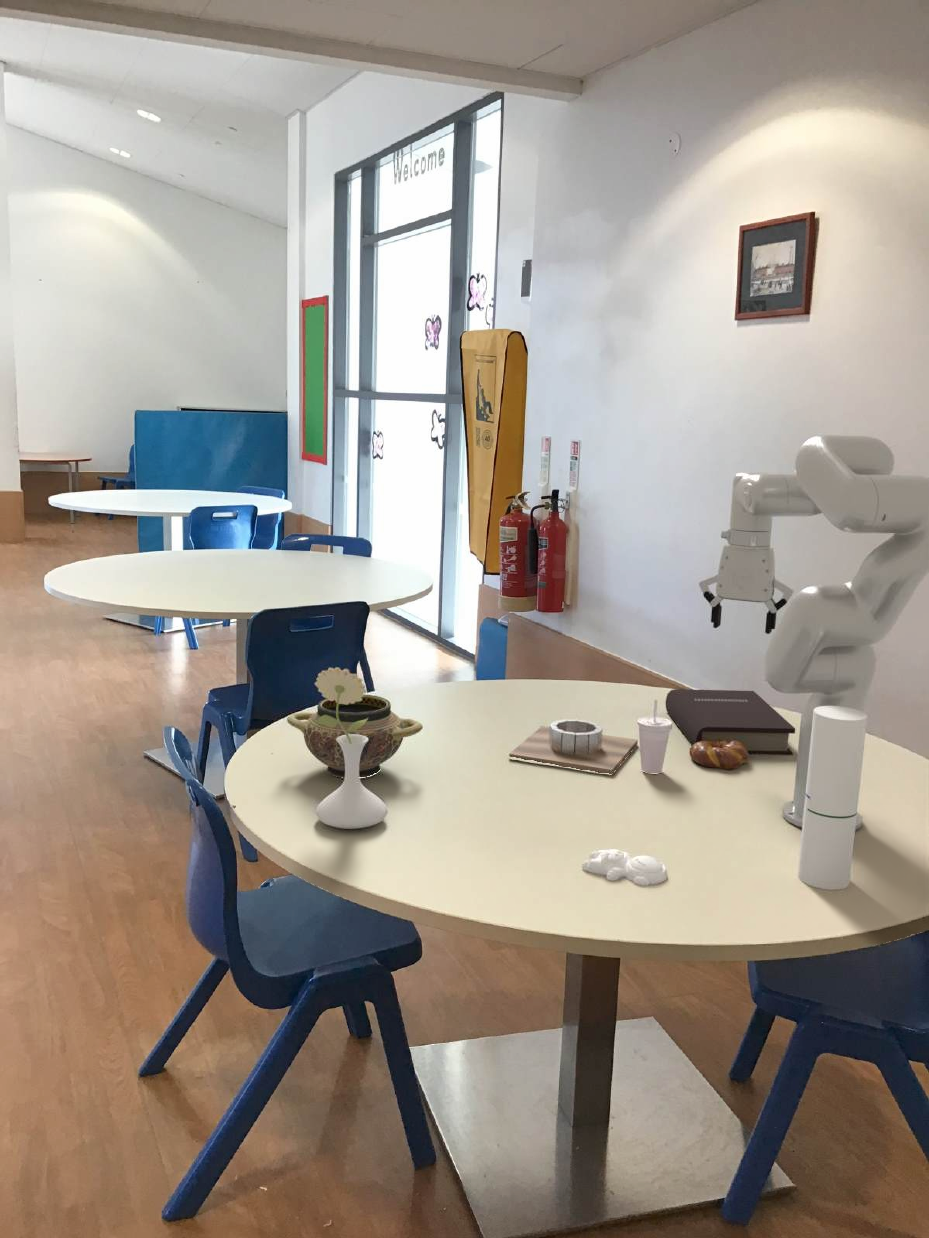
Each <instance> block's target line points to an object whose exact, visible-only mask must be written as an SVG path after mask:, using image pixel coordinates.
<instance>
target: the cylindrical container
mask: <svg viewBox="0 0 929 1238" xmlns="http://www.w3.org/2000/svg"><path fill="white" fill-rule="evenodd" d="M867 722H868V714H867V713H866V712H865V711H864V712H862V711H859V710H856V709H852V708H847V707H841V706H820V707H816V708H815V709H814V712H813V722H812V733H811V743H810V753H809V764H808V774H807V784H806V794H805V805H804V815H803V826H802V827H801V836H800V837H801V838H800V845H799V846H800V847H799V848H800V849H799V859H798V866H797V868H798V869H797V878H798V880H800V881H801V882H803V883H804V884H806V885H808V886H811V887H814V888H817V889H821V890H826V891H827V890H828V891H829V890H831V891H832V890H833V891H834V890H842V889H846V888H848V887H849V886H850V882H851V881H850V880H851V873H852V872H851V871H852V864H853V863H852V862H853V854H854V853H853V852H854V843H855V834H856V831H855V826H856V816H857V812H858V805H859V797H860V787H861V778H862V769H863V760H864V752H865V751H864V750H865V742H866V741H865V740H866V732H867V731H866V730H867Z"/></svg>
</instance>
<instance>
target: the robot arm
mask: <svg viewBox="0 0 929 1238" xmlns="http://www.w3.org/2000/svg"><path fill="white" fill-rule="evenodd" d="M894 468H895V458H894V454H893V452H892V449H891V448H890V447H889V446H888V445H887V444H886V443H885V442H884V441H882V440H880V439H878V438H876V437H872V436H869V435H868V436H866V435H839V434H838V435H837V434H836V435H835V434H834V435H833V434H830V435H829V434H827V435H825V434H823V435H822V434H820V435H816V436H813V437H811V438H809V439H807V440H806V441H805V442H804V443H803V444H802V445H801V447H800V448H799V449H798V452H797V453H796V455H795V459H794V473H768V472H760V471H742V472H738V473H736V474H735V476H734V477H733V480H732V493H731V504H730V516H729V517H730V518H729V529H728V530H723V531H721V533H720V538H721V539H724V540H726V541H727V543H728V544H725V545H723V547H722V550H721V554H720V560H719V565H718V572H717V574H716V575H713V576H710V577H708V578H706V579H704V580H701V581H700V582H698V586H699V588H700V590H701V592H702V594H703V597H704V599H705V600H706V601H707V602H708V603H709V606H710V607H711V616H710V622H711V623H712V625H713V626H712V628H714V629H717V628H719V627H720V626H721V621H722V608H723V606H722V605H721V602H722V601H723V600H730V601H740V602H748V603H749V602H751V603H763V604H764V605H765V607H766V608H767V609H768V612H766V617H765V618H766V619H765V631H764V633H765V634H766V635H770V633H772V630H775V631H774V633H773V635H772V637H771V639H770V641H769V643H768V645H767V647H766V651H765V654H764V657H763V672H764V677H765V680H766V682H767V683H768V685H769V686H770V688H773V690H775V691H777V692H780V693H782V694H783V693H784V694H793V695H794V694H810V696H809V698H808V699H807V700H806V703H805V705H804V707H803V709H802V713H801V719H800V726H799V736H798V738H799V739H798V746H797V747H798V749H797V759H796V768H795V777H794V779H795V781H794V789H793V799H792V801H789V802H787V803H784V805H783V806H782V812H781V813H782V817H783V818H785V820H786V821H787V822H788V823H791V824H793V825H795V826H796V827H799V828H802V826H803V815H804V805H805V794H806V784H807V774H808V764H809V753H810V743H811V733H812V722H813V712H814V709H815V708H816V707H820V706H841V707H847V708H852V709H856V710H859V711H862V712H864V713H865V710H866V704H867V700H868V695H869V692H870V688H871V686H872V683H873V681H874V677H875V673H876V668H877V656H876V651H875V649H874V647H873V646H872V645H874V644H878V643H881V641H883V640H884V639H885V638H886V637H887V636H888V635H889V634H890V632H891V630H892V629H893V627H894V626H895V624H896V622H897V621H898V619H899V617H900V616H901V614H902V613H903V612H904V610H905V608H906V606H907V605H908V603H909V602H910V600H911V599H912V597H913V595H914V593H915V591H916V590H917V589H918V587H919V585H920V583H921V582H922V581H923V580H924V579H925V577H926V576H927V575H928V574H929V477H927V476H921V475H913V474H892V473H893V471H894ZM820 514H823V515H824V517H825V518H826V519H827V520H828V522H830V524H831V525H832V526H834V528H837V529H838V530H839V531H841V532H845V533H848V534H849V533H850V534H893V535H891V536H890V537H889V538H888V539H886V540H885V541H883V542H882V543H880V544H879V545H878V546H877V547H876V548H874V549H873V550H872V551H871V552H870V553H869V554H868V555H867V556H865V558H864V560H862V562H861V564H860V567H859V568H858V570H857V572H856V573H855V575H854V576H853V577H852V579H851V580H850V581H848V582H844V583H839V584H837V583H836V584H835V583H834V584H833V583H832V584H817V585H815V584H814V585H810V586H807V587H805V588H803V589H801V590H800V591H799V592H797V593H796V595H794V597H792V596H793V594H794V589H792V588H791V587H790V586H789V585H787V584H784V583H783V582H781V581H780V580H778V579H776V565H775V564H776V562H775V560H776V559H775V551H774V548H773V547H771V540H772V539H771V538H772V526H773V518H777V517H796V518H797V517H800V518H801V517H802V518H804V517H812V516H817V515H820ZM713 584H716V587H715V593H716V596H715V595H714V594H713V592H712V591H711V590H710V585H713ZM775 589H776V590H778V591H780V592H781V593H782V595H783V596H782V597H781V598H780V600H778V601H777V602H776V601H775V599H774V598H773V597H774V594H775ZM791 598H792V599H791ZM790 599H791V601H790V602H789V600H790ZM788 602H789V604H788ZM787 604H788V606H787V608H786V609H785V611H784V614H783V616H782V618H781V619H780V622H779V623H778V625H777V627H776V621H777V612H778V611H780V609H782V608H783V607H784V606H786V605H787ZM862 825H863V816H862V815H861V814H860V813H859V812H858V811H857V816H856V826H855V832H856V831H857V830H859V829H861V828H862Z"/></svg>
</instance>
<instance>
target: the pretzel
mask: <svg viewBox="0 0 929 1238" xmlns="http://www.w3.org/2000/svg"><path fill="white" fill-rule="evenodd" d="M691 745H692V744H691ZM689 756H690V758H691V760H692V761H694V762H696V763H697V764H699V765H701V766H704V767H707V768H721V769H724V770H735V769H736V768H738V767H739V766H742V765H743V764H744V763H747V762H748V760H749V756H750V755H749V754H748V752H747V750H746V749H745V746H744V745H743V744H742V743H740V742H738V741H730V743H727V742H726V741H725V740H716V741H713V740H702V741H700V742H697V743H695V744H693V745H692V746H690V748H689Z"/></svg>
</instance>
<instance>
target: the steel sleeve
mask: <svg viewBox="0 0 929 1238" xmlns="http://www.w3.org/2000/svg"><path fill="white" fill-rule="evenodd" d="M549 727H550V731H549V746H550V747H551V749H553V750H555V751H558V752H560V753H561V752H562V753H565V754H572V755H574V754H575V755H587V754H588V755H589V754H593V753H597V752H599V751H600V750H601V748H602V735H603V727H602V726H601V725H600V724H598V723H596V722H593V721H589V720H584V719H575V718H574V719H568V718H567V719H560V720H554V721H552V722H551V723H550V724H549Z"/></svg>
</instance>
